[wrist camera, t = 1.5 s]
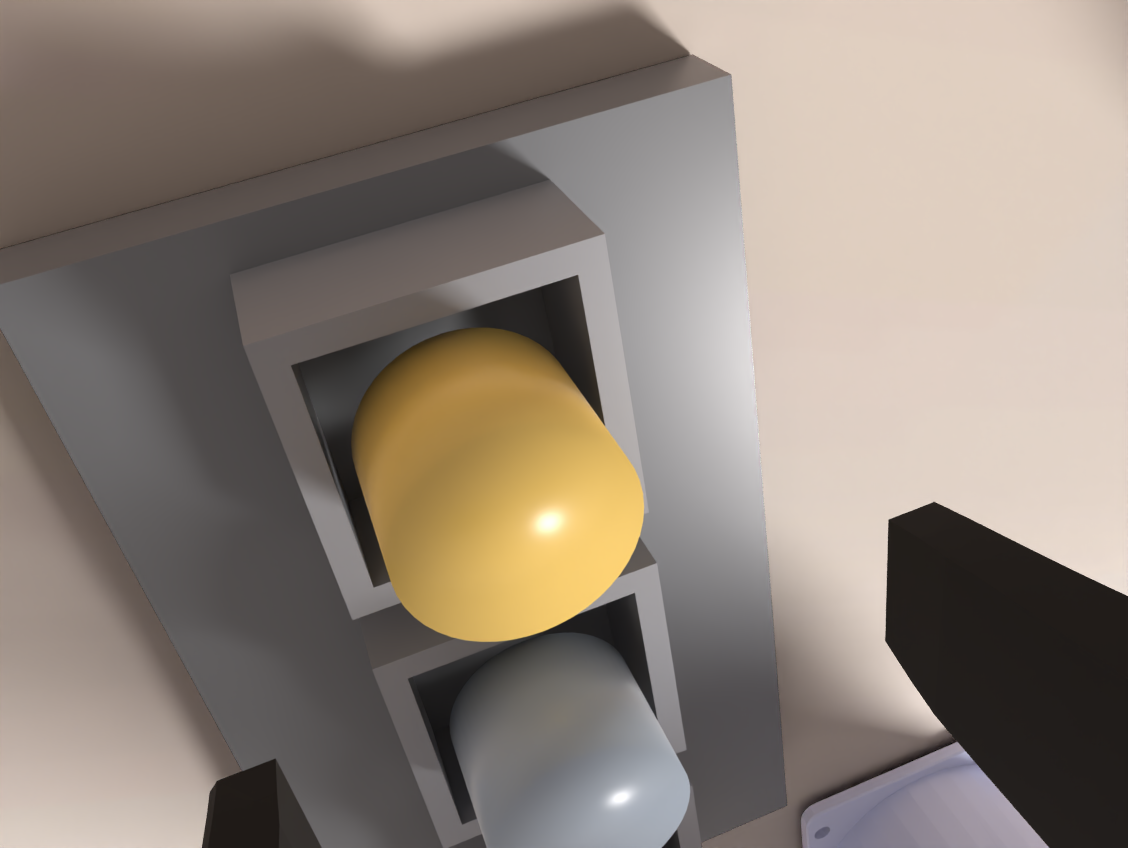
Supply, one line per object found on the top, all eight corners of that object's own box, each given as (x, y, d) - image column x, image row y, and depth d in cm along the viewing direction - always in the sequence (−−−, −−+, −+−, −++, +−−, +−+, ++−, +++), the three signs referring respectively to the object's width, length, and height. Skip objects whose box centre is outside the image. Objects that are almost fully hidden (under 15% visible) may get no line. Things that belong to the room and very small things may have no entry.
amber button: (591, 484, 18) (658, 587, 16) (386, 557, 17) (424, 676, 15) (555, 297, 16) (625, 385, 14) (320, 372, 15) (353, 478, 13)
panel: (761, 763, 30) (836, 883, 27) (351, 935, 28) (379, 1088, 25) (692, 54, 19) (809, 114, 15) (-10, 252, 16) (-44, 369, 13)
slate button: (640, 731, 22) (699, 844, 19) (472, 799, 21) (513, 923, 19) (615, 606, 19) (679, 715, 17) (428, 677, 19) (468, 801, 17)
